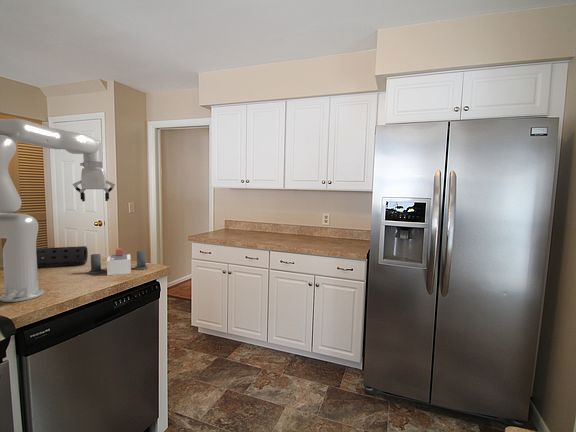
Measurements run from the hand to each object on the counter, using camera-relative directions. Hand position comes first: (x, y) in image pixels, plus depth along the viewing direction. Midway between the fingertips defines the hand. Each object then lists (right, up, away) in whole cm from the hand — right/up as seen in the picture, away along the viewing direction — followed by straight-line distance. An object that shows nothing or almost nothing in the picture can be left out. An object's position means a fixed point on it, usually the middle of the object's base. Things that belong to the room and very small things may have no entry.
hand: (95, 201), depth 150 cm
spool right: (+18, -35, +9) cm, 40 cm away
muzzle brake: (-27, -34, +10) cm, 45 cm away
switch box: (+10, -35, +4) cm, 37 cm away
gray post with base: (0, -35, 0) cm, 35 cm away
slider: (+8, -27, +6) cm, 29 cm away
